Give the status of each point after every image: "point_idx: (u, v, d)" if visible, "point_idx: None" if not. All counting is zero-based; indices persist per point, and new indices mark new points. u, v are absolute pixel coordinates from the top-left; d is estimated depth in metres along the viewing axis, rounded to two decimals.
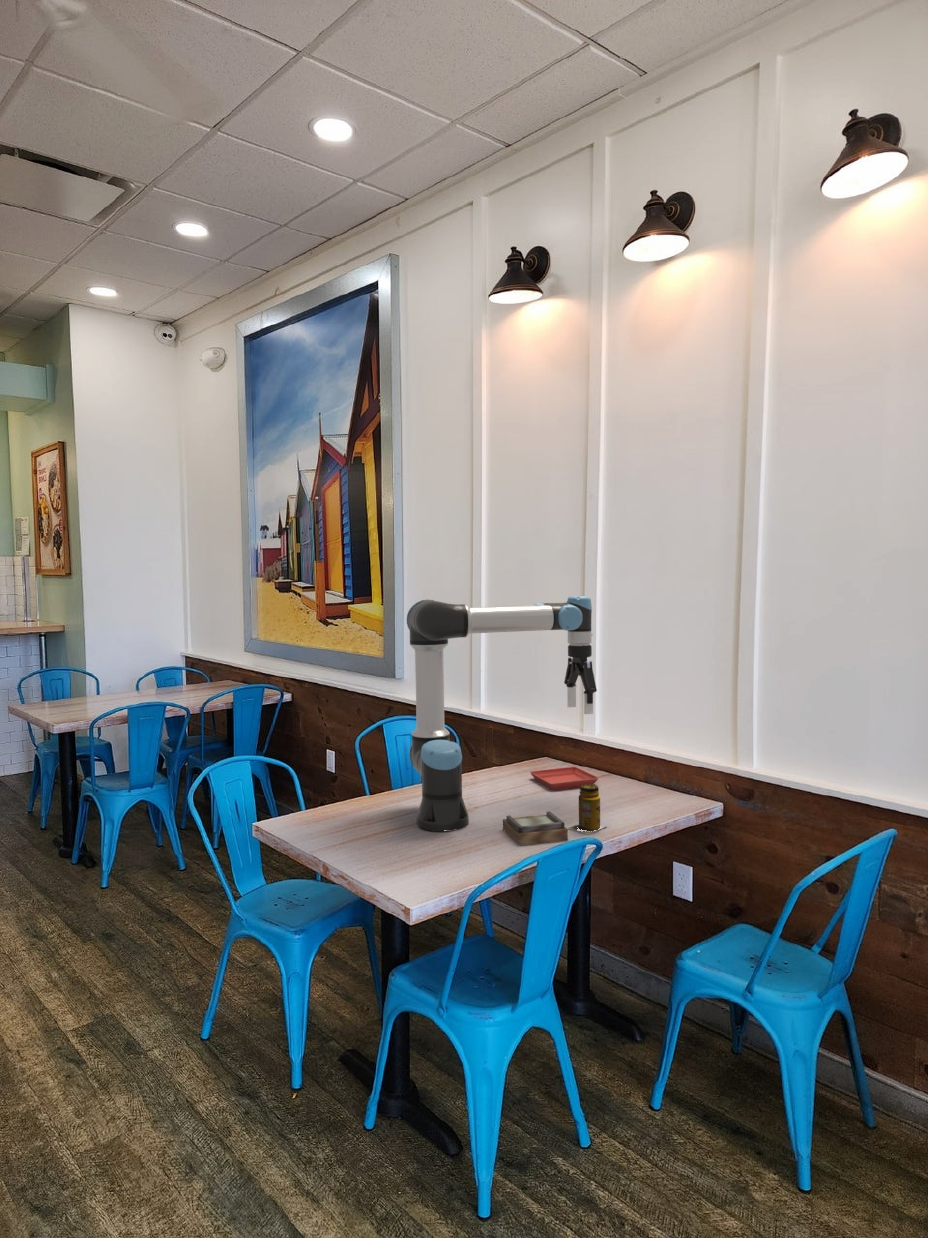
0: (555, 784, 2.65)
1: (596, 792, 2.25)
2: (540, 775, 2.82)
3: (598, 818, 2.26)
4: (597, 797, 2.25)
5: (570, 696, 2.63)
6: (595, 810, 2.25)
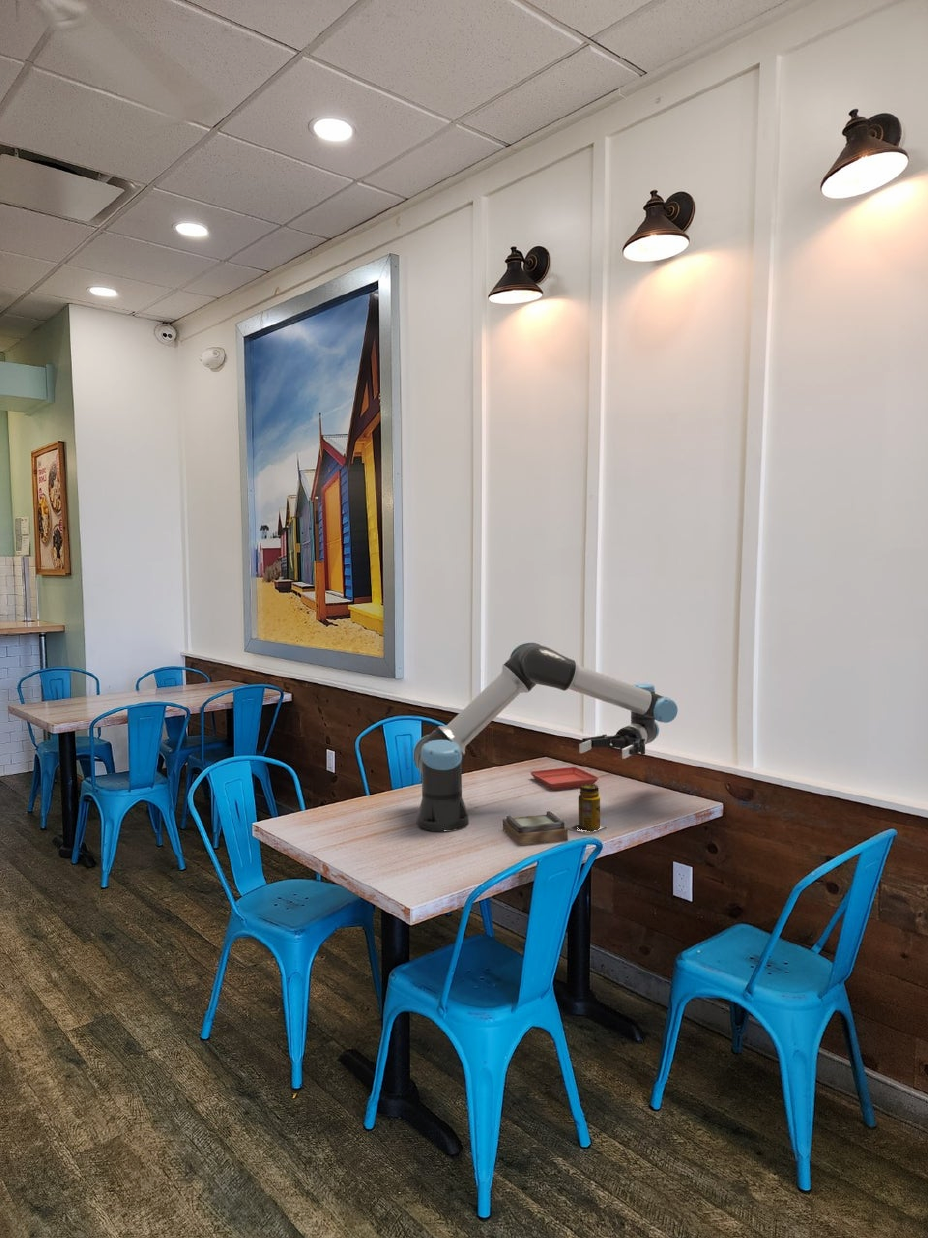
0: (555, 784, 2.65)
1: (596, 792, 2.25)
2: (540, 775, 2.82)
3: (598, 818, 2.26)
4: (597, 797, 2.25)
5: (587, 744, 2.41)
6: (595, 810, 2.25)
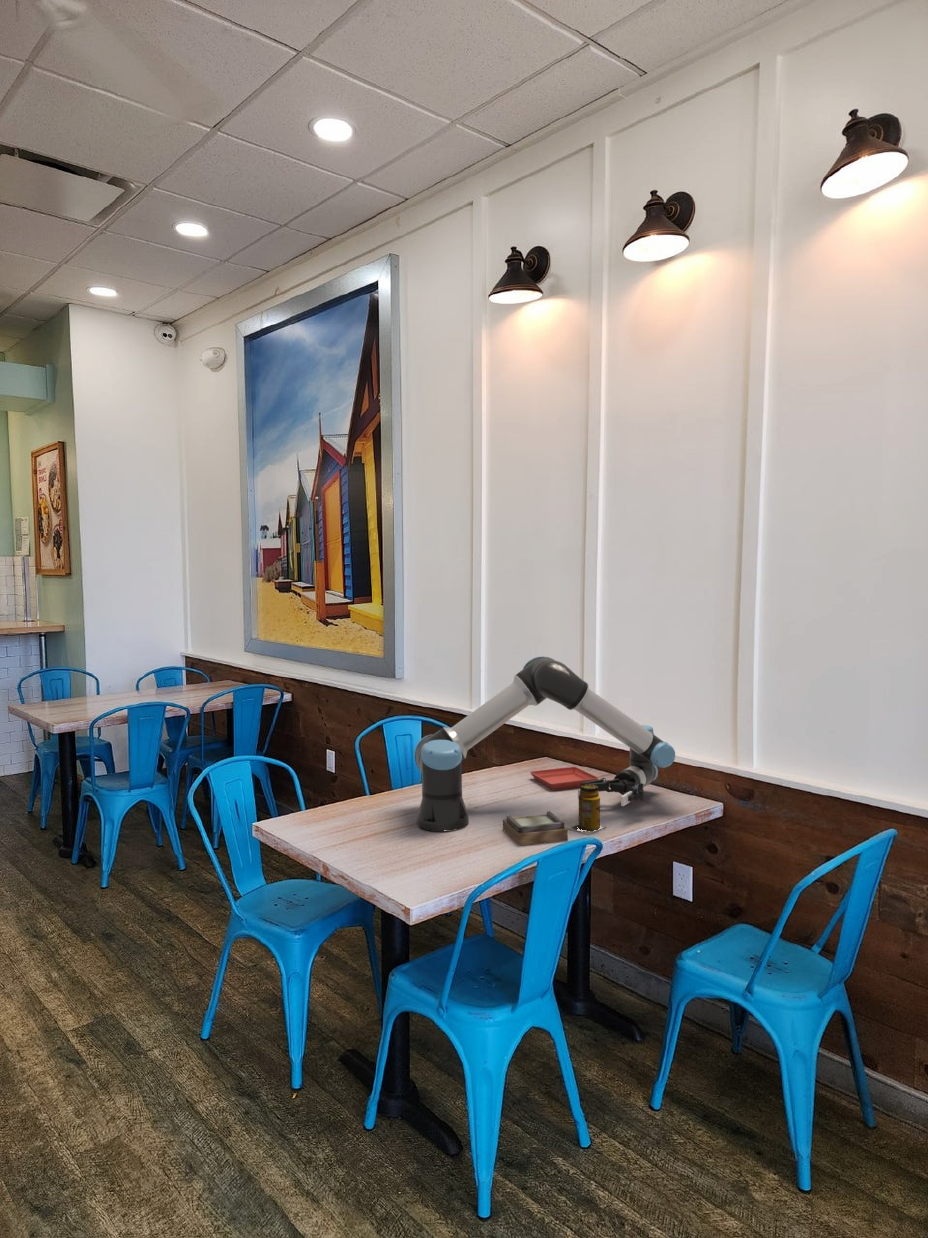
0: (555, 784, 2.65)
1: (595, 792, 2.25)
2: (540, 775, 2.82)
3: (598, 818, 2.26)
4: (597, 797, 2.25)
5: None
6: (595, 810, 2.25)
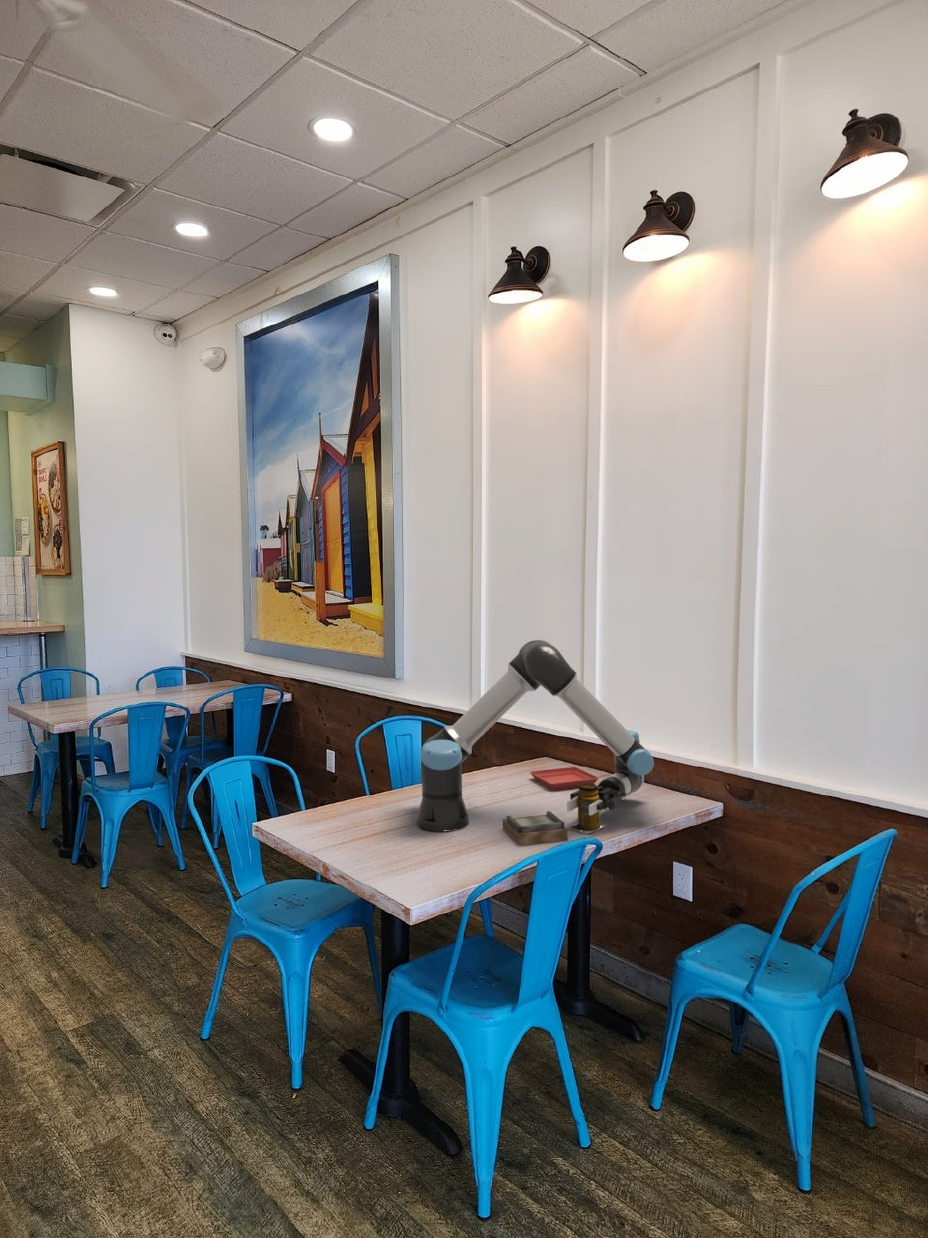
0: (555, 784, 2.65)
1: (595, 791, 2.25)
2: (540, 775, 2.82)
3: (597, 817, 2.26)
4: (596, 796, 2.25)
5: (575, 801, 2.27)
6: None
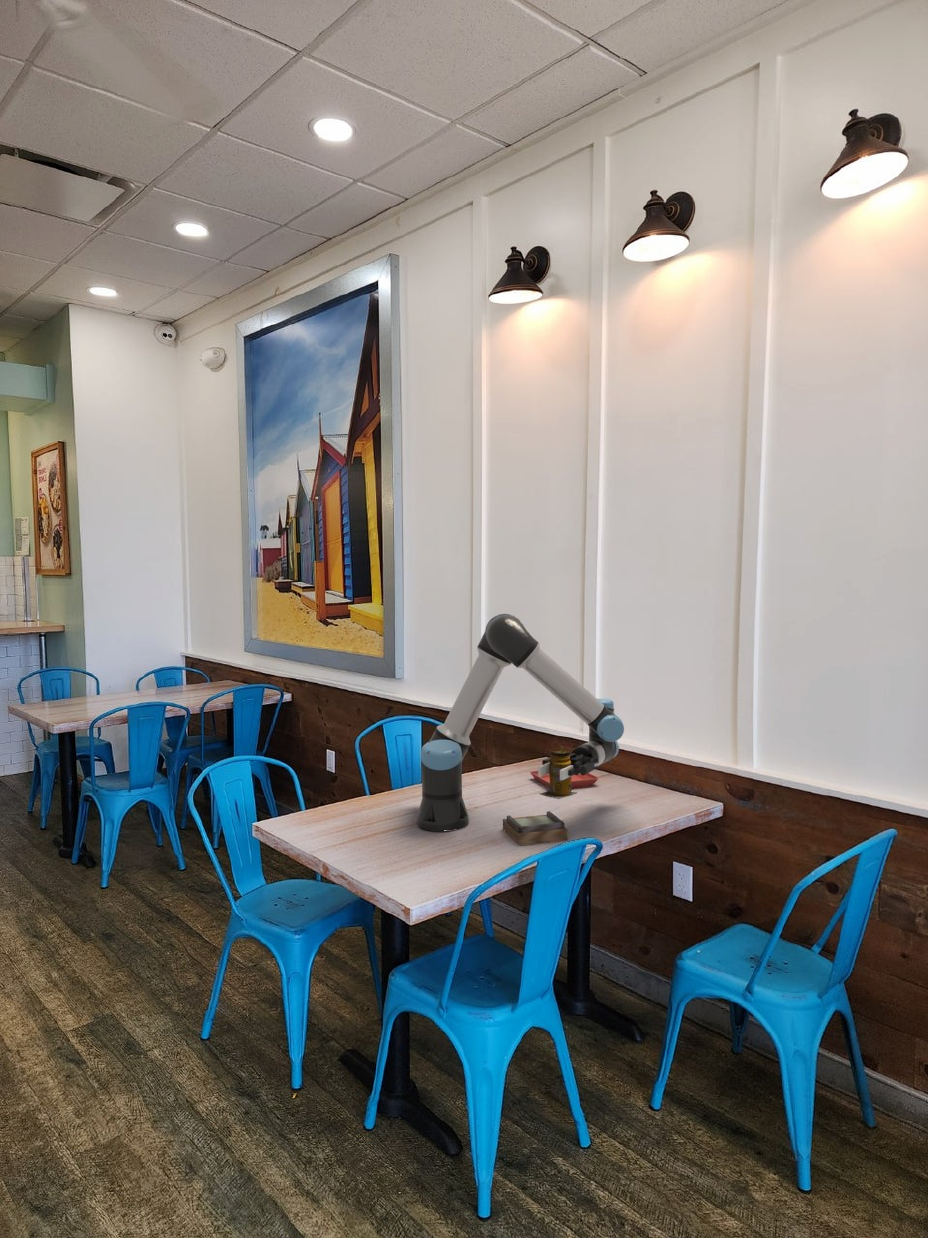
0: None
1: (566, 756, 2.22)
2: None
3: (569, 783, 2.22)
4: (568, 762, 2.22)
5: (546, 767, 2.24)
6: None
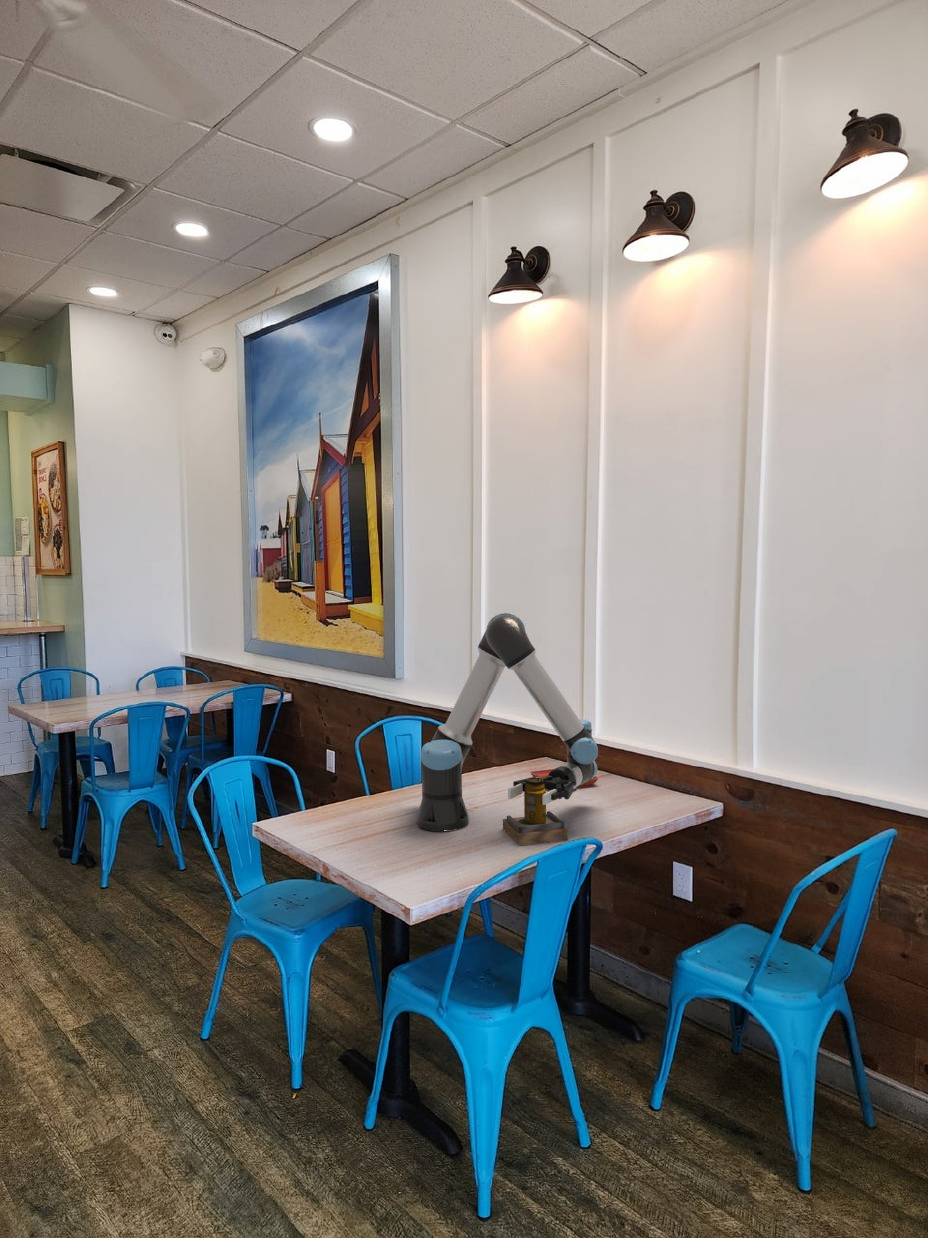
0: None
1: (540, 785, 2.21)
2: (540, 775, 2.82)
3: (543, 812, 2.21)
4: (542, 791, 2.21)
5: (517, 789, 2.24)
6: (539, 804, 2.20)
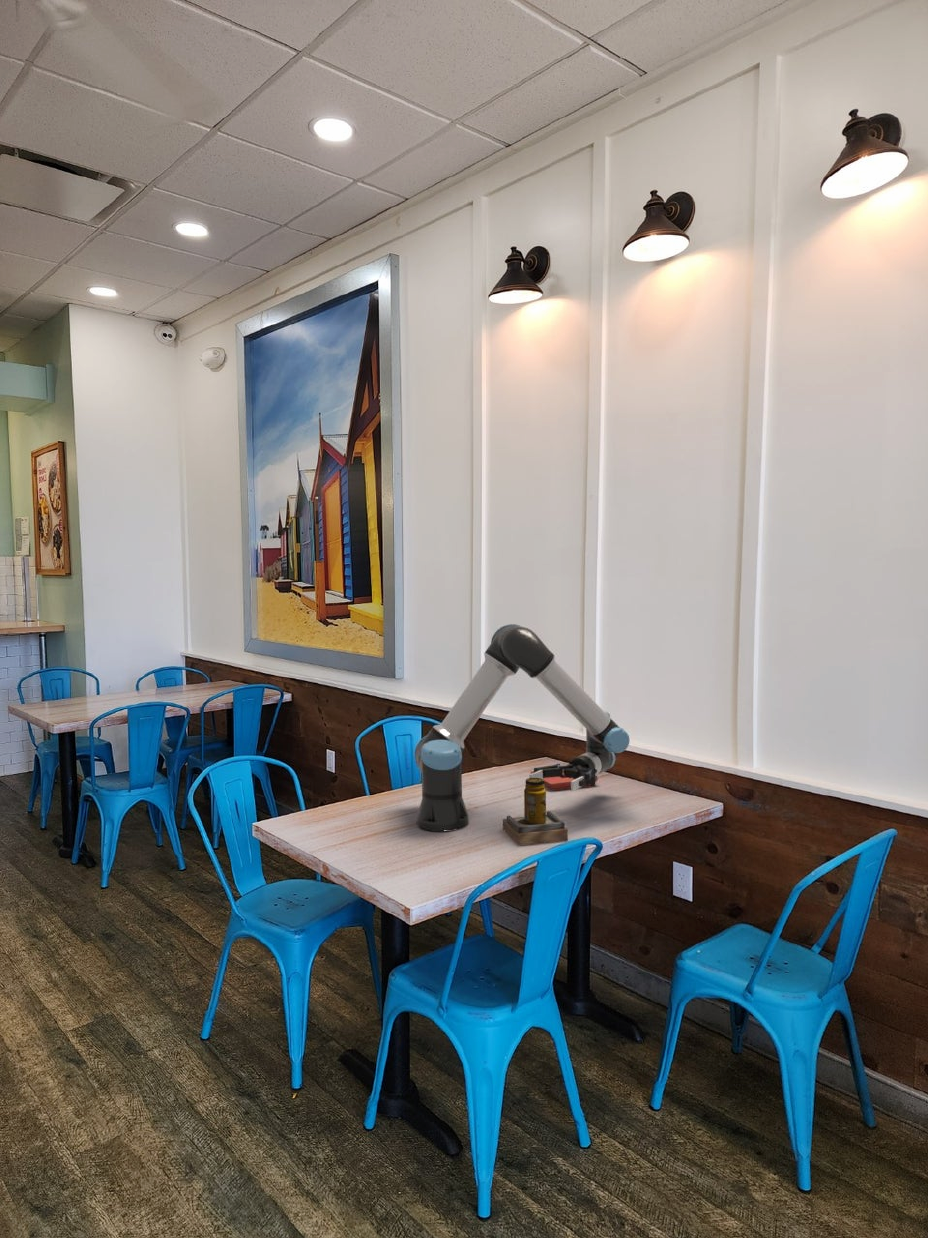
0: (555, 784, 2.65)
1: (540, 785, 2.21)
2: None
3: (543, 812, 2.21)
4: (542, 791, 2.21)
5: (537, 775, 2.37)
6: (539, 804, 2.20)
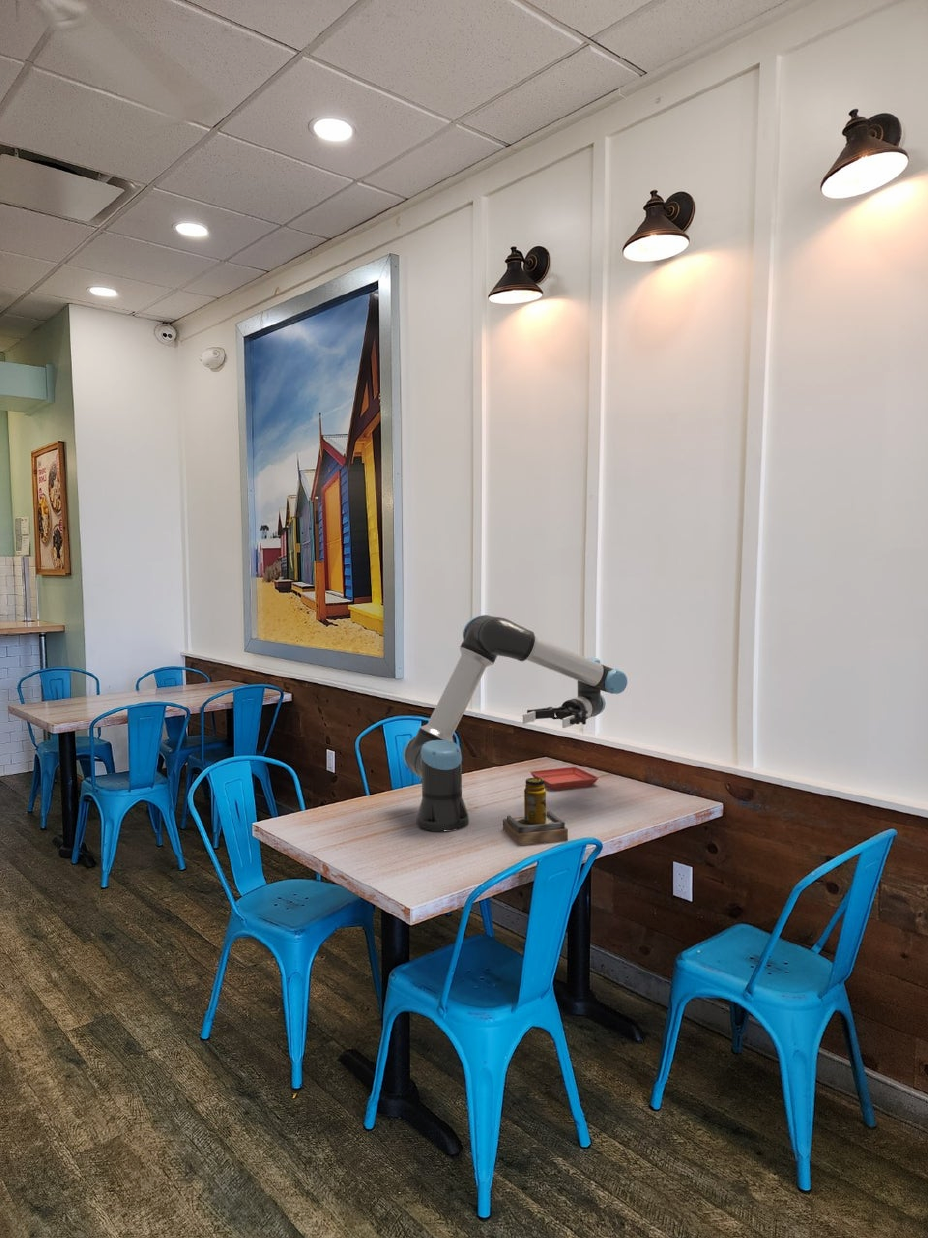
0: (555, 784, 2.65)
1: (540, 785, 2.21)
2: (540, 775, 2.82)
3: (543, 812, 2.21)
4: (542, 791, 2.21)
5: (530, 715, 2.47)
6: (539, 804, 2.20)
